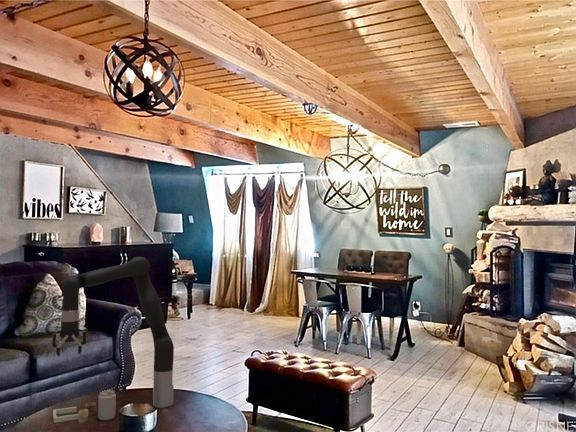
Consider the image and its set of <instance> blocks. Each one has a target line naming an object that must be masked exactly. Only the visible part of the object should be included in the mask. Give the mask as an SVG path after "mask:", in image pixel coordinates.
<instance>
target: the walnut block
mask: <svg viewBox="0 0 576 432" xmlns="http://www.w3.org/2000/svg"><path fill="white" fill-rule="evenodd" d="M84 409H88V417H89V416H95V415H97V403H96V401H91V402H87V403H86V402H85V403H84Z"/></svg>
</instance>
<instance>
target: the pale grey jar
mask: <svg viewBox="0 0 576 432" xmlns="http://www.w3.org/2000/svg"><path fill="white" fill-rule="evenodd" d="M116 402H117V394H116V393H115V390H113V389H107V390H102V391H100V393H99V395H98V404H97V405H98V406H97V408H98V409H97V418H98V419H99V420H100V421H103V422H105V421H111V420H113V419H114V418H115V417H116V404H117V403H116Z"/></svg>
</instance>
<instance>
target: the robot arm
mask: <svg viewBox="0 0 576 432" xmlns="http://www.w3.org/2000/svg"><path fill="white" fill-rule="evenodd" d="M150 267H151V266H150V262H149V260H148V259H147V258H145V257H144V256H134V257H133V258H131V259H130V261H127V262H124V263H122V264H118V265H113V266H109V267H103V268H98V269H95V270H91V271H87V272H85V273H79V274H73V275H70V276H66V277H65V278H64V279H63V281H62V296H63V297H62V303H61V305H62V306H61V315H60V316H61V317H60V318H61V319H60V332H59V333H58V332H57V333H56V332H53V333H52V341H51V346H52V348H55V349H56V350H55V353H56V355H57V356H58V357H60V356H61V355H60V353H61V346H62V345H63V344H64V342H65V343H73V342H76V344H77V355H80V354H81V353H82V350H83V349H82V347H83V346H84V345H86V344H87V337H86V336H87V333H86V331H85V330H81V331H79V326H80V325H79V324H80V323H79V322H80V312H79V309H80V306H79V305H80V304H79V296H80V290H81V289H83V288H86V287H88V288H89V287H90V288H91V287H94V286H98V285H102V284H105V283H109V282H111V281H115V280H119V279H122V278H126V277H132V279H133V280H134V283H135V286H136V289H137V295H138V299H139V303H140V307H141V310H142V314H143V316H144V318H145V321H146V323H147V325H148V326H149V329H150V331H151V335H152V336H151V337H152V340H153V341H152V342H153V347H154V350H153V351H154V353H153V358H154V359H153V383H152V384H153V385H152V386H153V388H152V389H153V391H152V406H153V407H154V406H155V408H159V409H161V408H162V409H163V408H168V407H171V406H173V405H174V384H173V383H174V382H173V380H174V379H173V375H174V374H173V373H174V370H173V369H174V356H175V355H174V350H175V348H174V343H173V340H172V338H171V336H170V334H169V331H168V329H167V327H166V326H167V325H166V323H165V317H164V316H165V315H164V311H163V307H162V303H161V301H160V297H159V295H158V293H157V291H156V289H155V287H154V285H153V283H152V279H151V277H150V273H149V270H150ZM79 336H81V337H82V341H80V340H79V338H78V337H79ZM58 337H60V338H61V339H60V340H59V341H58V343H57V342H56V341H57V340H56V339H58Z"/></svg>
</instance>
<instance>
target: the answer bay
mask: <svg viewBox="0 0 576 432" xmlns="http://www.w3.org/2000/svg"><path fill="white" fill-rule="evenodd" d="M76 412H78V406H72V407H64V408H57V409H52V419H53V423H54V424H55V423H56V424H57V423H61V422H68V421H75V420H78V417H79V413H76ZM69 413H73V414H69ZM74 413H75V414H74ZM56 414H57V415H60V416H57V415H56ZM63 414H68V415H63ZM61 415H62V416H61Z"/></svg>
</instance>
